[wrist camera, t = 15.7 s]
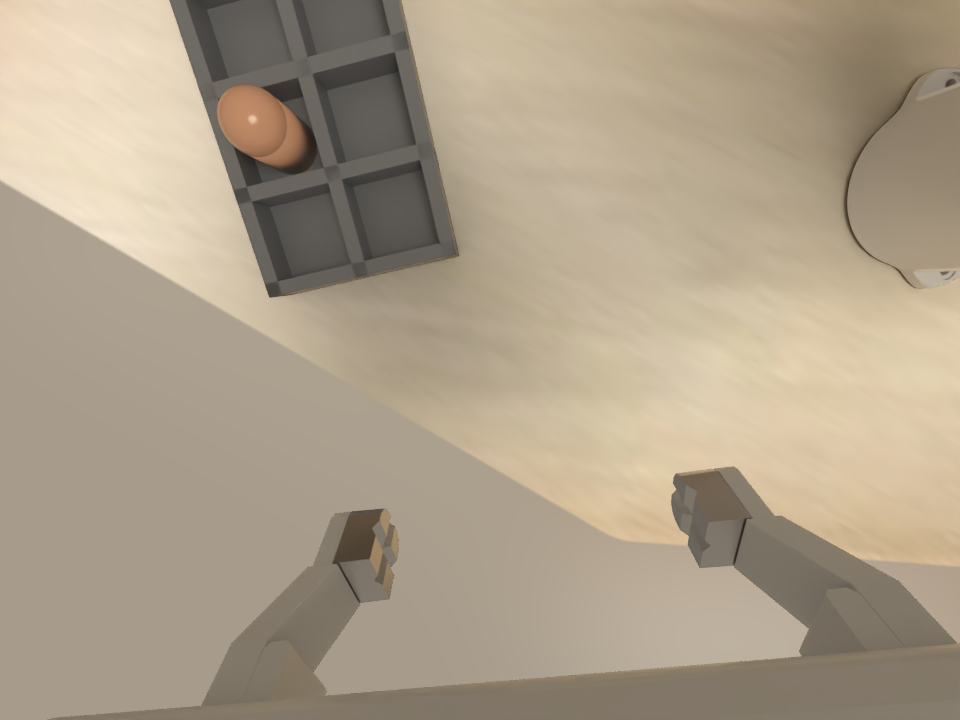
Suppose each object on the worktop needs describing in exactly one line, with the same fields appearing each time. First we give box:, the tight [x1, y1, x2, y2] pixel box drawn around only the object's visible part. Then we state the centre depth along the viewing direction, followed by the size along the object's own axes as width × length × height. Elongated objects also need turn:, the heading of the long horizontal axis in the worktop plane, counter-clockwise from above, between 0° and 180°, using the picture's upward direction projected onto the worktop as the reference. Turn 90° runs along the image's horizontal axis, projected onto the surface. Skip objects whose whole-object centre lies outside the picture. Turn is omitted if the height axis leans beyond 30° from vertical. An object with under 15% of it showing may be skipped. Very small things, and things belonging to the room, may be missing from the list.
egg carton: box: [170, 0, 459, 298], centre depth 34 cm, size 17×25×4 cm
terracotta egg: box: [217, 84, 317, 175], centre depth 31 cm, size 5×5×8 cm
